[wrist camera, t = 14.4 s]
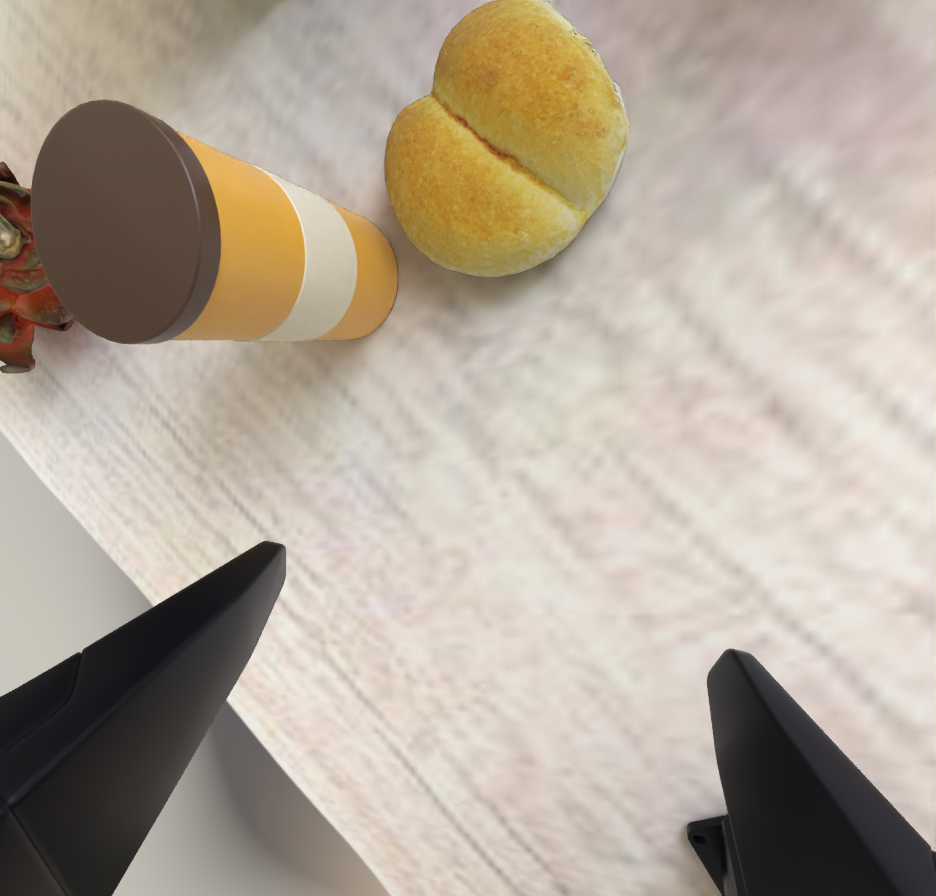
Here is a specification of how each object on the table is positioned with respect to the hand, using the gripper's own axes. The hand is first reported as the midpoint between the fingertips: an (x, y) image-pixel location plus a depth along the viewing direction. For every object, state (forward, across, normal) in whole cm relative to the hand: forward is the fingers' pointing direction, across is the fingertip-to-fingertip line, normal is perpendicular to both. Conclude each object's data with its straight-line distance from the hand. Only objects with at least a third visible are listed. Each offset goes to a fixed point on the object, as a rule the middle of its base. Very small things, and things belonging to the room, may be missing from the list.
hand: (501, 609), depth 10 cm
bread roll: (+16, +2, -7) cm, 18 cm away
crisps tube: (+16, +9, -1) cm, 18 cm away
